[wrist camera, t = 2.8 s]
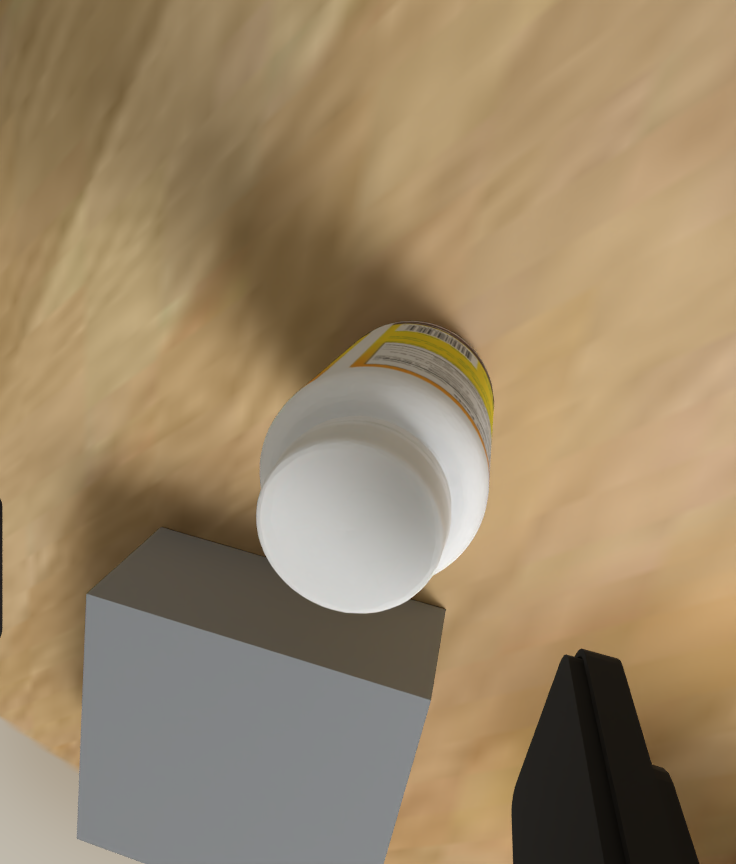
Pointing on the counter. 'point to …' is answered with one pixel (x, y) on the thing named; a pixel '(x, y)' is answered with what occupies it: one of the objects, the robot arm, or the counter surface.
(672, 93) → the counter surface
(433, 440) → the supplement bottle
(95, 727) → the base block
